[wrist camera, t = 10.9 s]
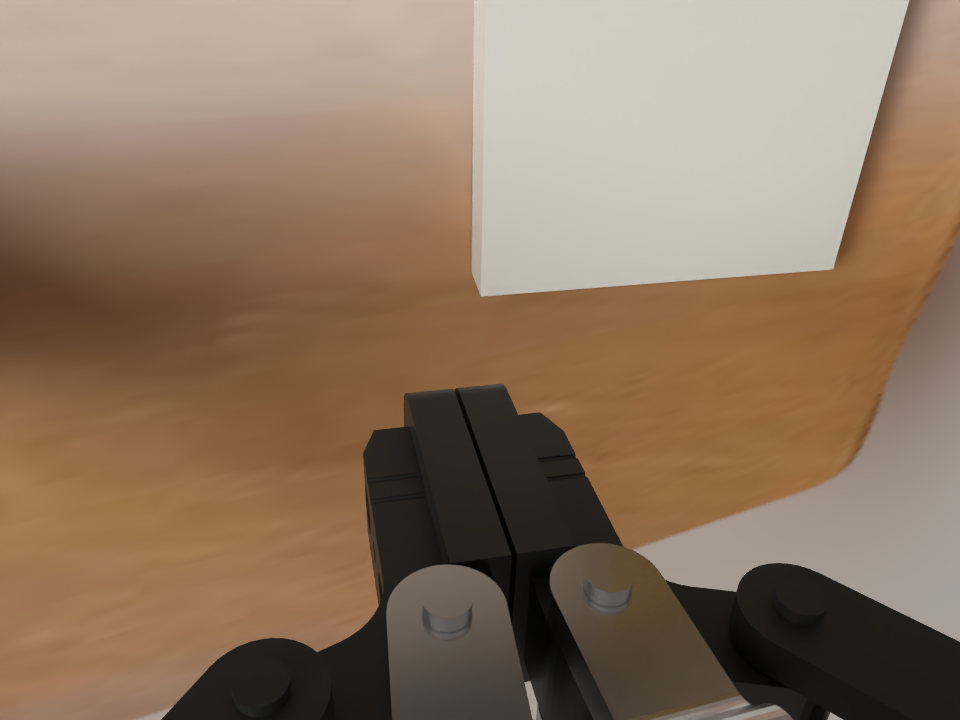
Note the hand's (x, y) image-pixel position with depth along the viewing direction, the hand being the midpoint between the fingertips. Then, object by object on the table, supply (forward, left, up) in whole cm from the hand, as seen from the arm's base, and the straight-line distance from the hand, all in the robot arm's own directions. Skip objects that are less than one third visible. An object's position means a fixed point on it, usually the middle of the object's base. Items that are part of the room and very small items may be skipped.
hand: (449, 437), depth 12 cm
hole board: (+9, -11, -26) cm, 29 cm away
